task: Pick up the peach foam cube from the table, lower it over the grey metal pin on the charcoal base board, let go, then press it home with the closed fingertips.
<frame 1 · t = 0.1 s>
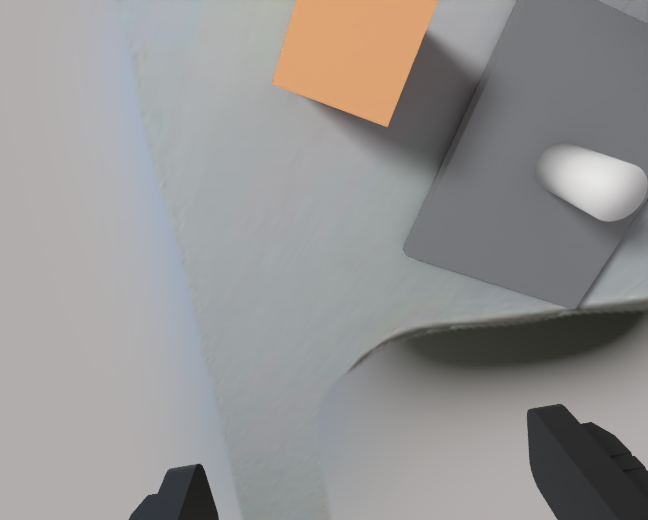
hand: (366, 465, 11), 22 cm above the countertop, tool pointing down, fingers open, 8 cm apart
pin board: (550, 163, 31), on the countertop
peach foam cube: (339, 44, 27), on the countertop
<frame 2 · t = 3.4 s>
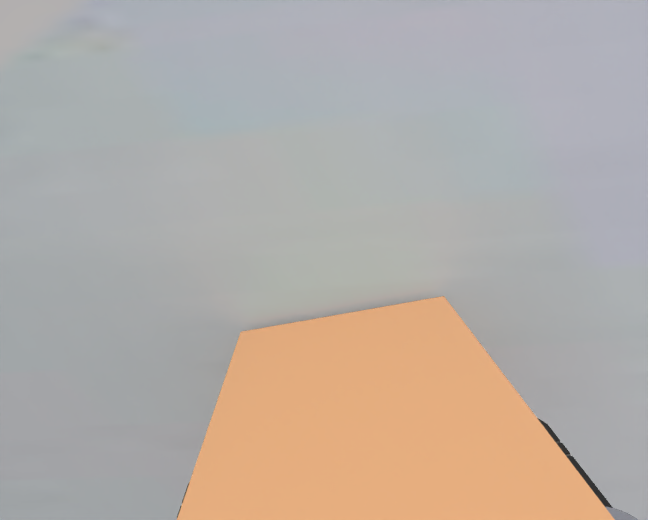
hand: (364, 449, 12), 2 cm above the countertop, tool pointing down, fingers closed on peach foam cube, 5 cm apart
peach foam cube: (357, 402, 14), on the countertop, touching gripper
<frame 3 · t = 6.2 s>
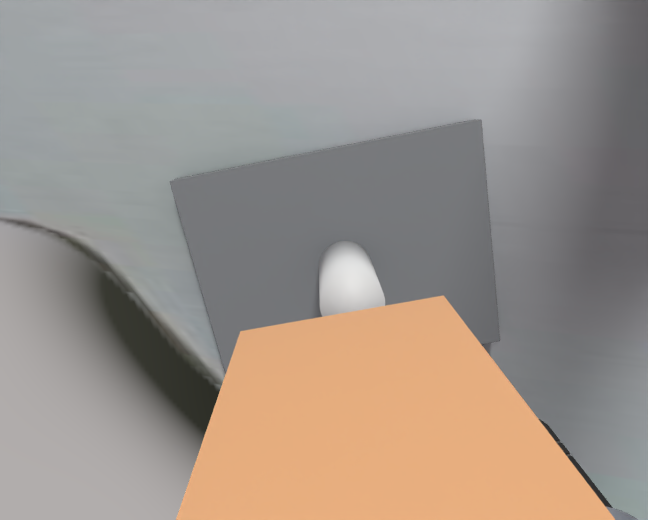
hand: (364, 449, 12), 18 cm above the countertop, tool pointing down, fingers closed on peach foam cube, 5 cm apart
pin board: (343, 260, 29), on the countertop
peach foam cube: (357, 401, 14), point 16 cm above the countertop, touching gripper
when the fingers open (5 cm above the countertop, at t = 9.2 s): peach foam cube drops 2 cm, resting on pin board.
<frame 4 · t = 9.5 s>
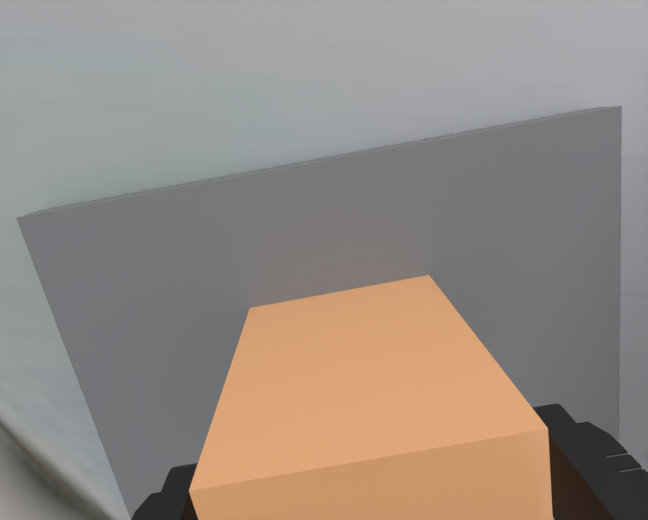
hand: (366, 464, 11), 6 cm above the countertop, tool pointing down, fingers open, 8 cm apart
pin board: (348, 354, 17), on the countertop
peach foam cube: (353, 371, 15), point 1 cm above the countertop, touching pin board
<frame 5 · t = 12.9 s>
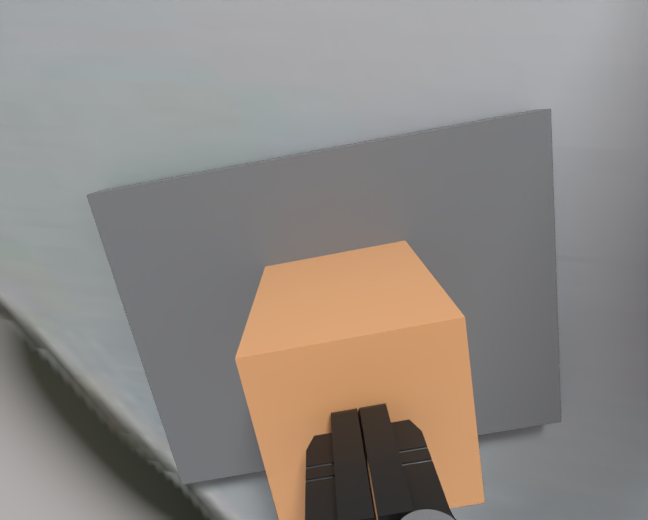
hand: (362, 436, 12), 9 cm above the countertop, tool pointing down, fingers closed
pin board: (343, 307, 21), on the countertop
peach foam cube: (346, 318, 19), point 1 cm above the countertop, touching gripper, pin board
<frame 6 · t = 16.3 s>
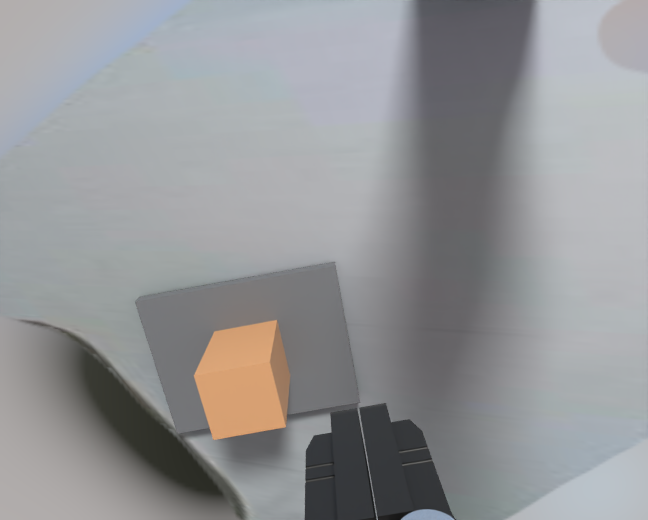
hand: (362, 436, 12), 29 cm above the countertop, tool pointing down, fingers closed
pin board: (253, 348, 43), on the countertop
peach foam cube: (253, 353, 42), point 1 cm above the countertop, touching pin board
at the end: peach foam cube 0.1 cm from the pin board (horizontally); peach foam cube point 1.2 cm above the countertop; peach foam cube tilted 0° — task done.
